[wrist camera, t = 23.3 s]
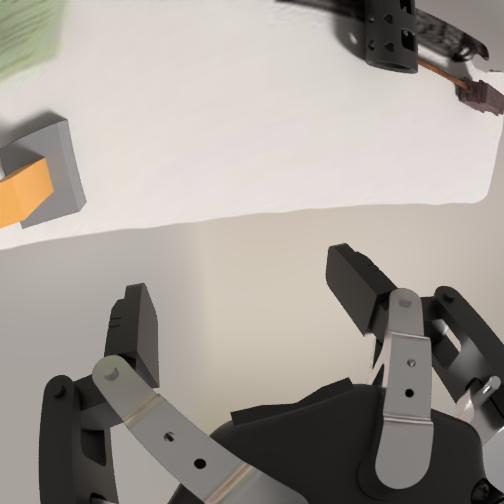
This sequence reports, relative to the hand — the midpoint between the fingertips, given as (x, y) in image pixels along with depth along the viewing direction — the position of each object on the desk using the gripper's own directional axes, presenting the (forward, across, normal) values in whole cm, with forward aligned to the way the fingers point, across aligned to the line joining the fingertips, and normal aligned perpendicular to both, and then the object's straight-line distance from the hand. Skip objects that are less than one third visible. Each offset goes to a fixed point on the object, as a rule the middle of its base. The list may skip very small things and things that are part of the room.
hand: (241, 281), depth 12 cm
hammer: (+34, -52, -15) cm, 64 cm away
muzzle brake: (+34, -33, -27) cm, 54 cm away
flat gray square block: (+33, +25, -2) cm, 42 cm away
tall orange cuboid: (+29, +25, -2) cm, 38 cm away
